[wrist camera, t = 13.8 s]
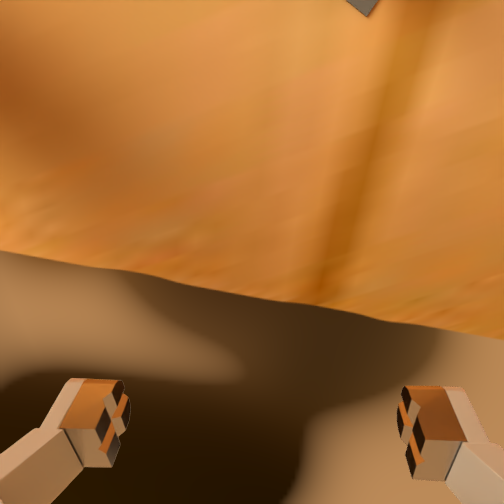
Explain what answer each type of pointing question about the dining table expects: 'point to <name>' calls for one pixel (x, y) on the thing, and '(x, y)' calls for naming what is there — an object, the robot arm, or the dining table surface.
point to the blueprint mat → (363, 5)
